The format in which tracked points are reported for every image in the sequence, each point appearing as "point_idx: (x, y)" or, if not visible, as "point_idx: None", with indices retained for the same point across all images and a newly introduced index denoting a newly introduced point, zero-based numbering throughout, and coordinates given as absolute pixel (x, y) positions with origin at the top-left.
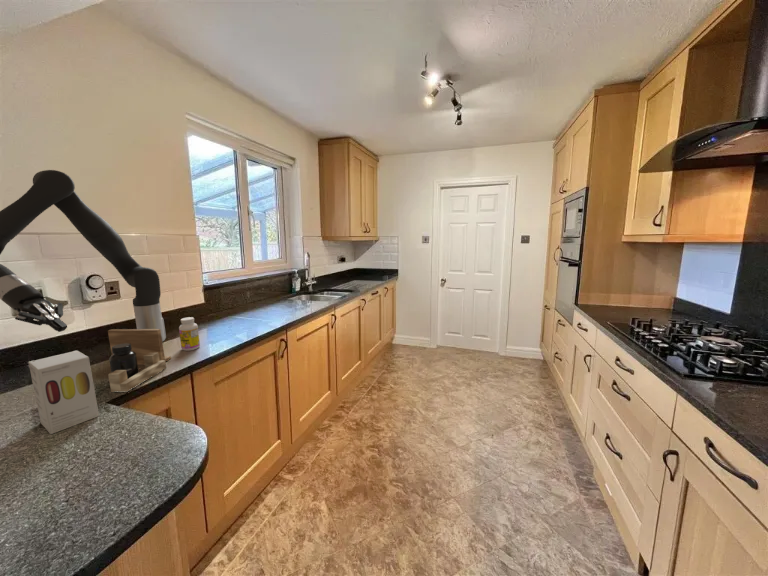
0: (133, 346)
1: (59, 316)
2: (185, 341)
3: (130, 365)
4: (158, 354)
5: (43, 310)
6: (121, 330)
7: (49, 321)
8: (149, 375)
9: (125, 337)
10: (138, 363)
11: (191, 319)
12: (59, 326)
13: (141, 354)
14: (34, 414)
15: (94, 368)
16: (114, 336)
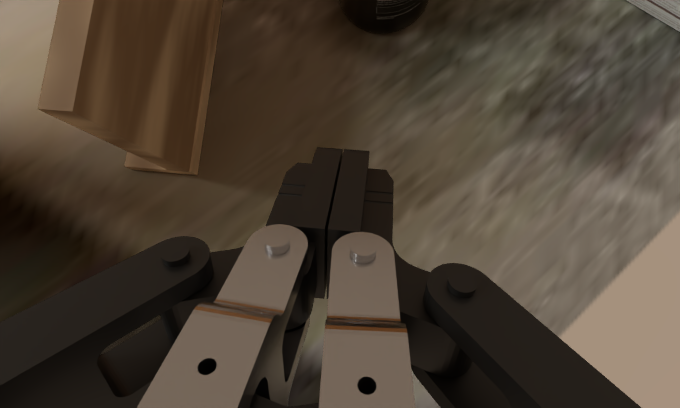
0: (167, 12)
1: (212, 264)
2: None
3: None
4: None
5: (350, 396)
6: (89, 5)
7: (395, 258)
8: None
9: (130, 14)
10: (212, 51)
11: None
12: (367, 180)
13: (195, 5)
14: (652, 131)
15: (230, 235)
16: (110, 86)
